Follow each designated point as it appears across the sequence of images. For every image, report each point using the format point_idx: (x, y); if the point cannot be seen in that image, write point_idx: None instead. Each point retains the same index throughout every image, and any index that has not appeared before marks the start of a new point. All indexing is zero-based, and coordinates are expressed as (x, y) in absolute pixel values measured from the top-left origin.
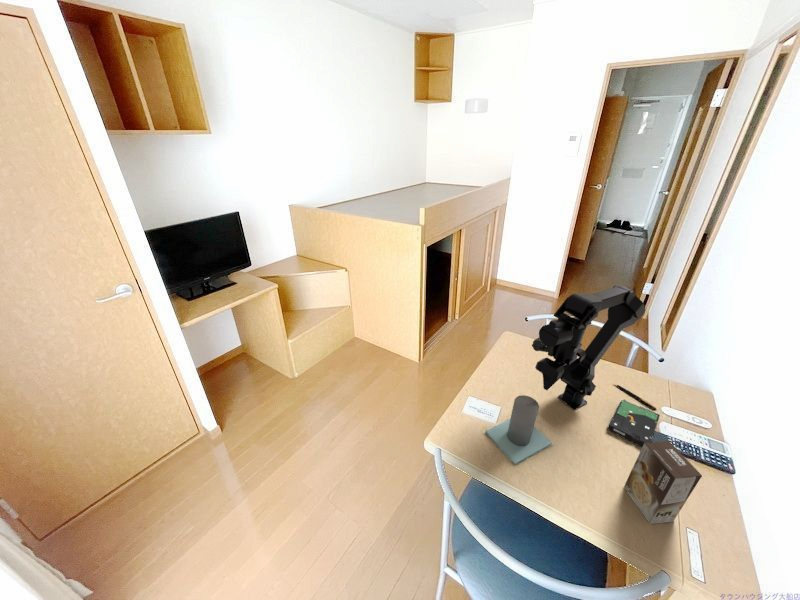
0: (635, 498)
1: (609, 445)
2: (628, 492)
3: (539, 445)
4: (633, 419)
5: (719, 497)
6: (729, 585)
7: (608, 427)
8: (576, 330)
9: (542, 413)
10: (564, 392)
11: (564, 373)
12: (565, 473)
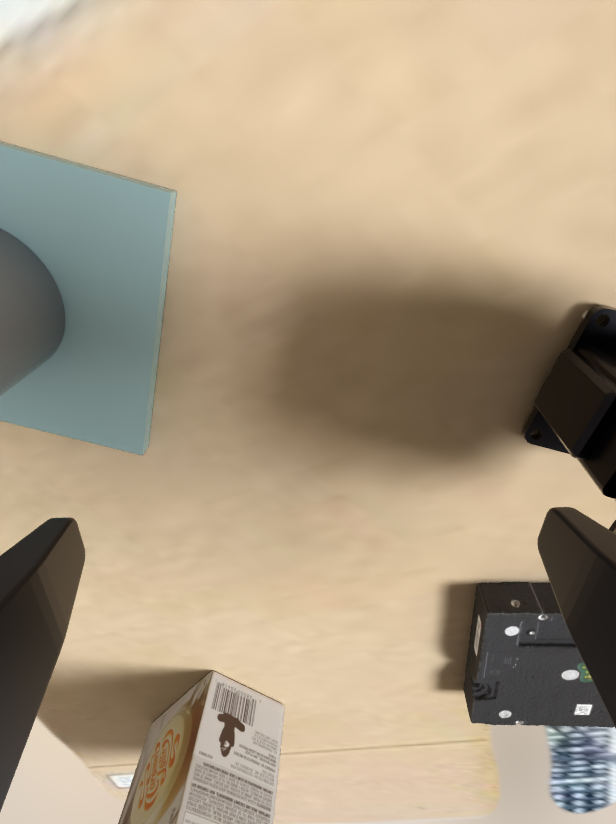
0: (178, 712)
1: (375, 608)
2: (196, 686)
3: (61, 416)
4: None
5: (403, 803)
6: None
7: (480, 598)
8: None
9: (334, 300)
10: (599, 392)
11: (603, 656)
12: None
